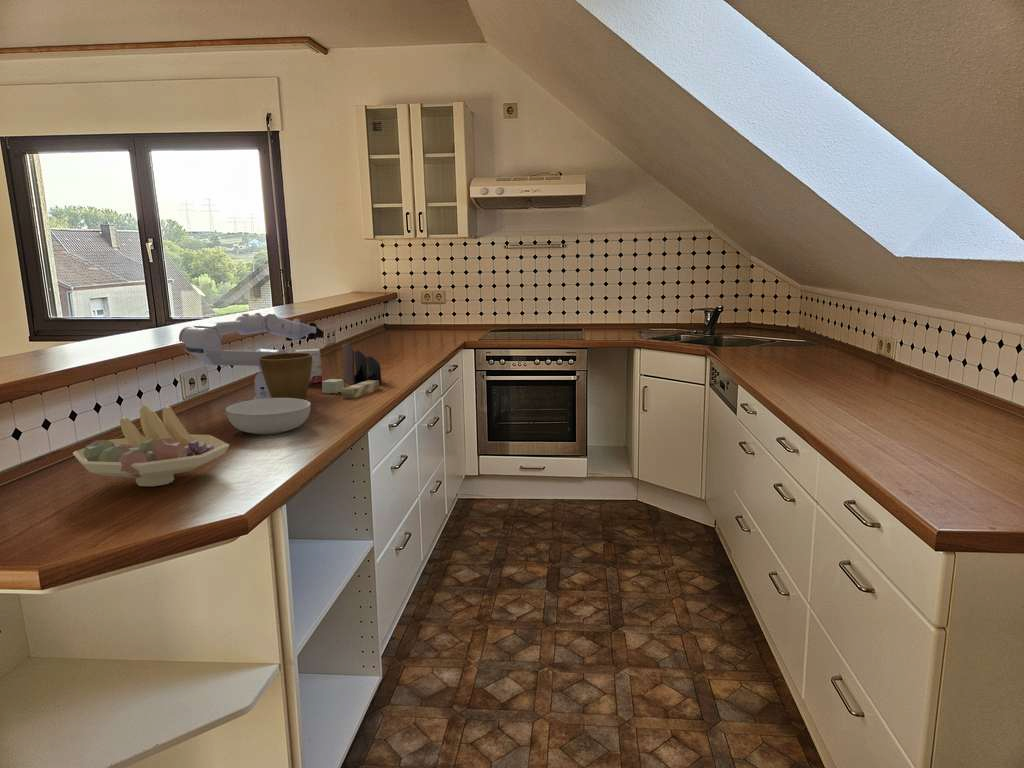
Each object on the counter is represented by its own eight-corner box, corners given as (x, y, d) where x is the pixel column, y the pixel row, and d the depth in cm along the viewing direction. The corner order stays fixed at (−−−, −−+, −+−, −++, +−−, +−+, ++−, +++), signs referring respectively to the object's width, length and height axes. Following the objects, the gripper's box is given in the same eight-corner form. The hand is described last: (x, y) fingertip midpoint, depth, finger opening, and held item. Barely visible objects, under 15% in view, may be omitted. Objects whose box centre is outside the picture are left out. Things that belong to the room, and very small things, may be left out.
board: (352, 398, 222) (352, 389, 222) (341, 398, 224) (341, 388, 223) (379, 389, 237) (378, 380, 236) (369, 388, 238) (368, 380, 238)
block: (335, 394, 231) (334, 382, 230) (322, 393, 232) (321, 381, 232) (344, 391, 235) (343, 379, 234) (331, 390, 237) (330, 378, 236)
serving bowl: (287, 443, 172) (285, 415, 170) (210, 439, 176) (208, 412, 175) (326, 422, 192) (324, 398, 190) (256, 420, 196) (254, 396, 195)
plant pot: (323, 403, 216) (319, 352, 213) (304, 414, 201) (300, 359, 198) (276, 403, 217) (272, 352, 214) (254, 414, 203) (249, 359, 200)
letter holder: (353, 388, 240) (350, 347, 237) (342, 379, 257) (340, 341, 255) (382, 386, 243) (380, 345, 241) (369, 377, 261) (367, 339, 259)
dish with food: (191, 454, 162) (184, 394, 160) (257, 477, 145) (251, 410, 142) (54, 486, 141) (44, 418, 139) (112, 518, 124) (102, 440, 121)
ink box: (322, 380, 255) (320, 348, 253) (322, 383, 250) (320, 350, 248) (297, 382, 253) (295, 349, 251) (296, 384, 248) (294, 351, 246)
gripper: (303, 314, 226) (331, 322, 238) (269, 317, 232) (298, 325, 245) (302, 336, 225) (330, 342, 238) (268, 338, 232) (297, 345, 244)
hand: (313, 335), depth 241 cm, fingers open, 7 cm apart
